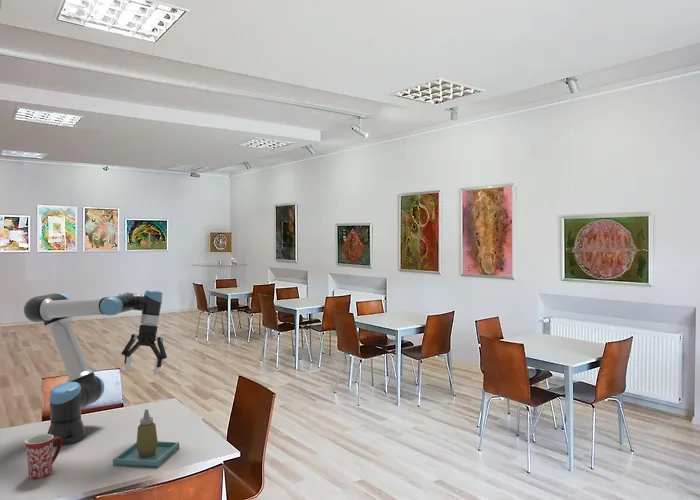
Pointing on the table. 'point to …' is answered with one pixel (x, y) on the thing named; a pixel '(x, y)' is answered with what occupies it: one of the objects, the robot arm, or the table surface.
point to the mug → (41, 455)
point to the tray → (134, 460)
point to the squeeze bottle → (146, 436)
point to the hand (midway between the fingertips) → (141, 373)
